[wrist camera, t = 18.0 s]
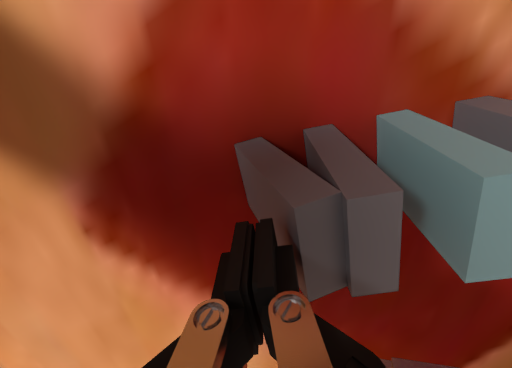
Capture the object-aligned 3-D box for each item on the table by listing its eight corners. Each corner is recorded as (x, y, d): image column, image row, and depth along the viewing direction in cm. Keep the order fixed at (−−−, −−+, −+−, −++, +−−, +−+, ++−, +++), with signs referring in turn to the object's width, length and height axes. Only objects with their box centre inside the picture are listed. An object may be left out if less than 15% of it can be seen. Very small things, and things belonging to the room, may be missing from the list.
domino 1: (248, 205, 21) (308, 302, 12) (234, 144, 19) (293, 208, 10) (272, 197, 21) (347, 286, 12) (260, 136, 19) (341, 191, 10)
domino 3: (377, 180, 20) (465, 283, 11) (376, 115, 18) (484, 178, 9) (404, 176, 20) (516, 277, 11) (407, 109, 18) (549, 167, 9)
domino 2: (310, 191, 21) (351, 297, 12) (303, 129, 19) (346, 199, 10) (336, 187, 21) (398, 290, 12) (332, 123, 19) (403, 190, 10)
